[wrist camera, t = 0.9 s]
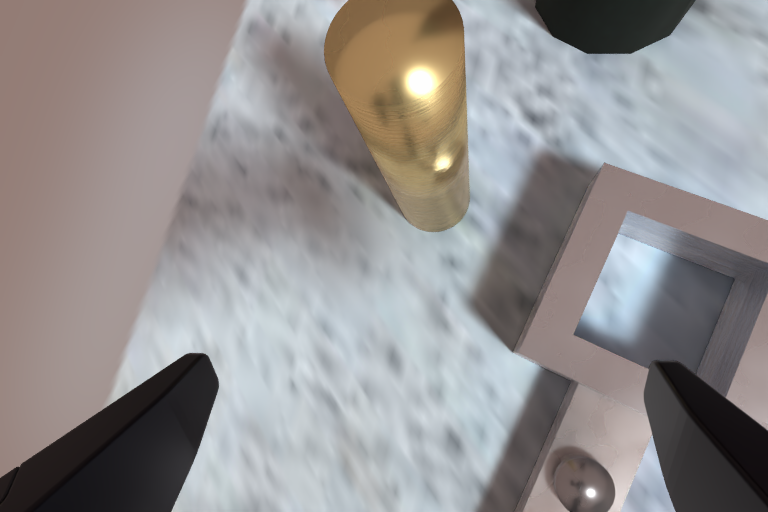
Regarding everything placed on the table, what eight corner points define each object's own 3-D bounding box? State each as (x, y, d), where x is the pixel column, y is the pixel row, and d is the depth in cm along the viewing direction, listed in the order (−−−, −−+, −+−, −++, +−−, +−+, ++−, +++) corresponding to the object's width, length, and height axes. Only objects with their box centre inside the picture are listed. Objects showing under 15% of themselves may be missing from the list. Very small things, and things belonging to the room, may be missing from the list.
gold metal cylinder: (451, 243, 23) (425, 125, 11) (388, 215, 24) (300, 79, 12) (481, 180, 23) (488, -1, 11) (418, 155, 24) (362, -36, 12)
